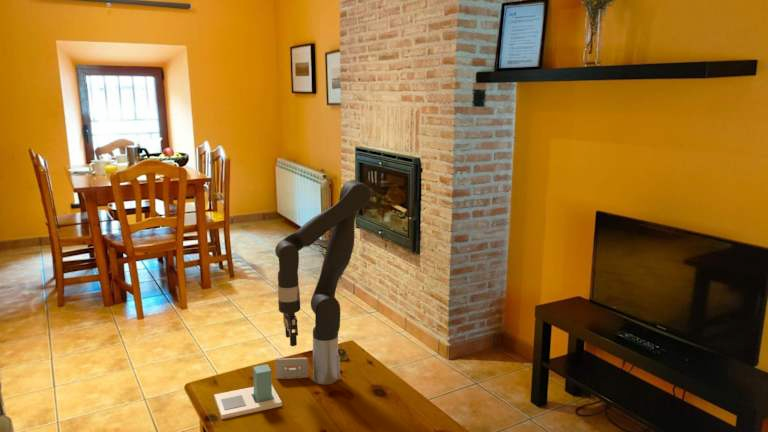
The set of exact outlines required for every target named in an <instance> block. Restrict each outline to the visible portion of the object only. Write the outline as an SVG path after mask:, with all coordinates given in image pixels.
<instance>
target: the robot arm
mask: <svg viewBox="0 0 768 432" xmlns="http://www.w3.org/2000/svg"><path fill="white" fill-rule="evenodd" d="M371 198H372V192H371V188H370V187H369V186H368V185H366V184H365V183H363V182H361V181H358V180H354V179H350V180H347V181H345V183H344V184H343V185H342V187H341V189H340V192H339V199H338V202H336V203H335V204H334V205H333V206H331V207H329V208H328V209H326V210H324V211H323V212H320V213H319V214H316V215H315V216H313V217H312V218H310V219H309V220H308V221H306V222H305V223H304V224H303V225H302V226H300V228H299V229H297V230H296V231H294V232H293V233H290V234H289V235H288V236H286V237H284V238H283V239H281V240H280V241H279V242H278V243H277V245H276V246H275V251H274V252H275V256H276V257H277V258H278V269H279V270H278V273H277V285H278V287H277V299H278V300H277V301H278V303H277V304H278V311H279V313H281V314H282V315H283V316H282V317H283V320H282V321H283V324H284V328H285V329H284V331H285V337H286V338H289V345H290V347H296V346H297V345H298V344H297V343H298V340H297V336H299V333H298V332H299V329H298V318H297V315H296V313H297V312H299V311H300V310H301V296H300V295H301V294H300V293H301V291H300V287H299V285H300V284H299V263H300V255H299V254H300V252H299V251H300V250H302V249H304V248H306V247H310V246H312V245H313V244H314V243H316V242H317V241H318V240H319V239H320V238H321V237H323V236H324V235H325V234H326V233H327V232H329V231H330V230H331V232H330V236H329V239H328V242H327V245H326V250H325V253H324V259H323V262H322V266H321V270H320V275H319V278H318V281H317V284H316V286H315V289H314V291H313V293H312V296H311V300H310V308H311V310H312V312H313V314H314V315H315V317H314V318H315V321H314V322H315V323H314V327H313V329H312V352H313V354H312V379H313V381H314V383H316V384H318V385H332V384H334V383H336V382H337V381H340V379H341V369H340V368H341V361H340V356H339V355H338V348H339V331H340V327H341V304H340V301H339V300H338V299H337V298H336V296H335V295H336V290H337V287H338V283H339V280H340V278H341V277H342V275H343V273H344V272H345V270H346V269H347V267H348V265H349V264H350V261H351V258H352V255H353V254H352V253H353V251H354V247H355V237H356V236H355V232H356V231H355V228H356V227H355V223H356V218H357V217H356V216H357V214H358V211H360V210H362V209H363V208H365V207H366V206H367V205H368V204H369V203H370V201H371ZM293 331H294V332H293Z"/></svg>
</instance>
